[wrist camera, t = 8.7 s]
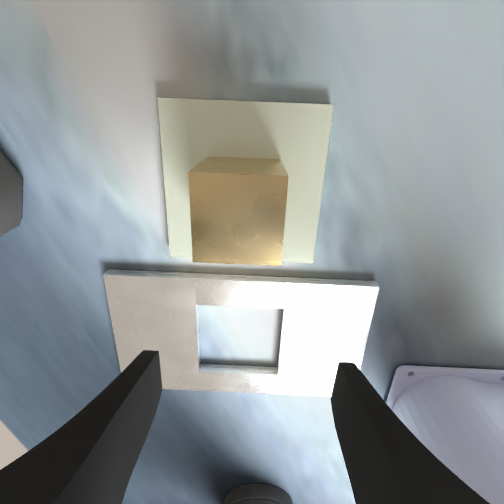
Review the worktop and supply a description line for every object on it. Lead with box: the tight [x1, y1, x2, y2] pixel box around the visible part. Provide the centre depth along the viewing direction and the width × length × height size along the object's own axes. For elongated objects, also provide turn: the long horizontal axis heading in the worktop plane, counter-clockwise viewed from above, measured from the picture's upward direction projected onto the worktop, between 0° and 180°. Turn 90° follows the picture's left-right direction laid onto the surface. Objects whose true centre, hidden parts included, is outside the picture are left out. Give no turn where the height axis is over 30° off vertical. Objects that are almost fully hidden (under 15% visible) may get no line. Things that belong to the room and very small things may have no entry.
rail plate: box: [103, 269, 379, 397], centre depth 22 cm, size 18×10×1 cm, turn 88°
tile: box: [157, 97, 334, 263], centre depth 18 cm, size 9×9×1 cm
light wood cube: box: [188, 156, 289, 266], centre depth 15 cm, size 4×4×5 cm
